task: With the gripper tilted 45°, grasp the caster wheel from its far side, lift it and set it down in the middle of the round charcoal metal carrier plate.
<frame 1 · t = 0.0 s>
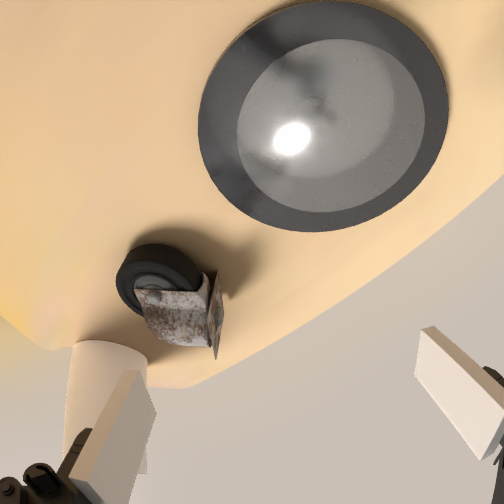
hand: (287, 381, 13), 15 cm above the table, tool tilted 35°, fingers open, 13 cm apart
canister: (109, 355, 46), on the table
carrier plate: (334, 128, 20), on the table
caster wheel: (172, 275, 31), on the table
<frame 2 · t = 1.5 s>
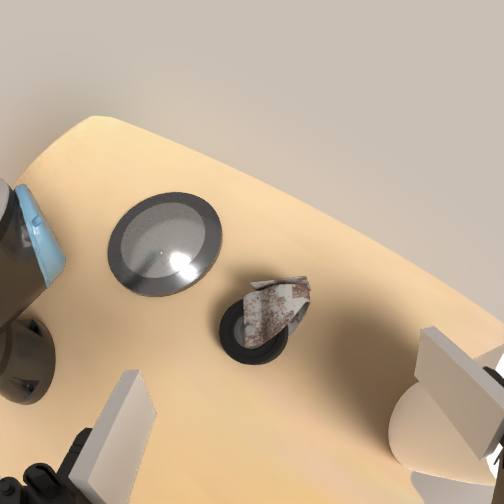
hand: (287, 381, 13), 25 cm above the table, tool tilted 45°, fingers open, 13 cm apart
canister: (432, 424, 30), on the table
carrier plate: (163, 241, 47), on the table
caster wheel: (267, 330, 39), on the table
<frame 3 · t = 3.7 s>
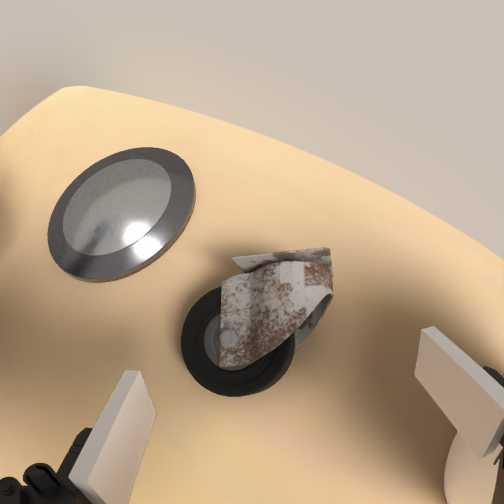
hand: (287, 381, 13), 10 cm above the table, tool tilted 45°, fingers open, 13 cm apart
canister: (498, 455, 15), on the table
carrier plate: (117, 208, 32), on the table
caster wheel: (261, 339, 24), on the table
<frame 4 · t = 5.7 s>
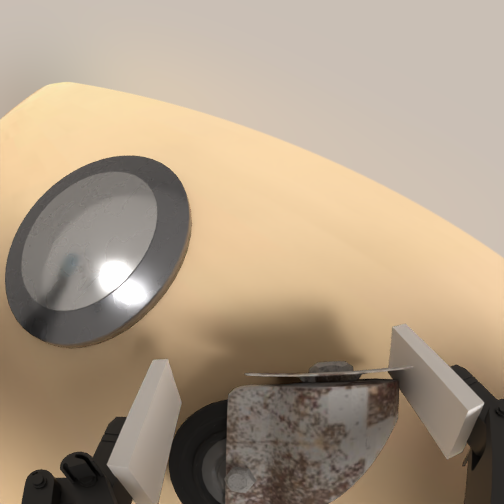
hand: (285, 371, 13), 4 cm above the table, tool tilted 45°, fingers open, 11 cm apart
carrier plate: (87, 239, 23), on the table
caster wheel: (282, 453, 15), on the table, touching gripper
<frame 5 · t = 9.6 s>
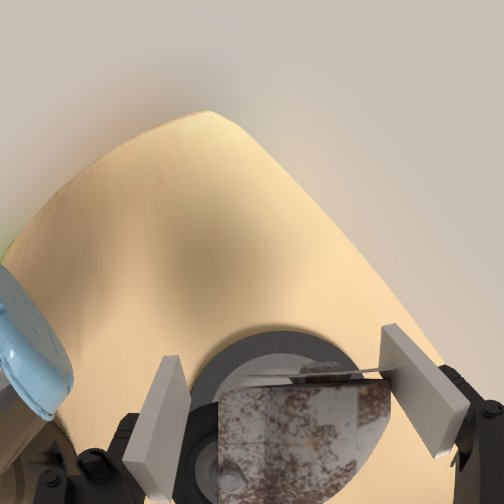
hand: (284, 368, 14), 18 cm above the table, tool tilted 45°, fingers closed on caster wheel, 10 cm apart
carrier plate: (280, 419, 27), on the table
caster wheel: (276, 454, 15), point 14 cm above the table, touching gripper
when the fingers open (7 cm above the table, at t = 13.3 s): caster wheel drops 1 cm, resting on carrier plate.
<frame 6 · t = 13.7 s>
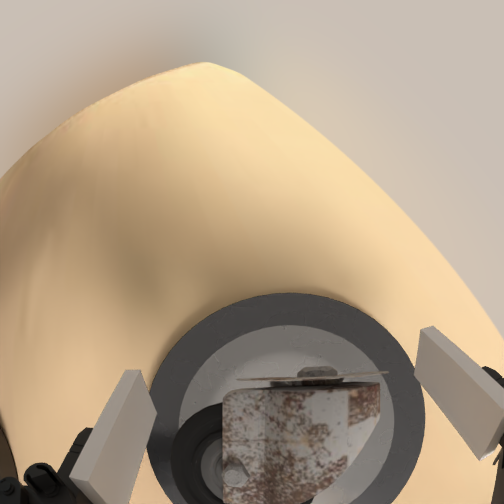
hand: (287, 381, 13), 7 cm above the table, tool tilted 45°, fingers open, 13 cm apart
carrier plate: (287, 427, 18), on the table
caster wheel: (275, 450, 16), point 1 cm above the table, touching carrier plate
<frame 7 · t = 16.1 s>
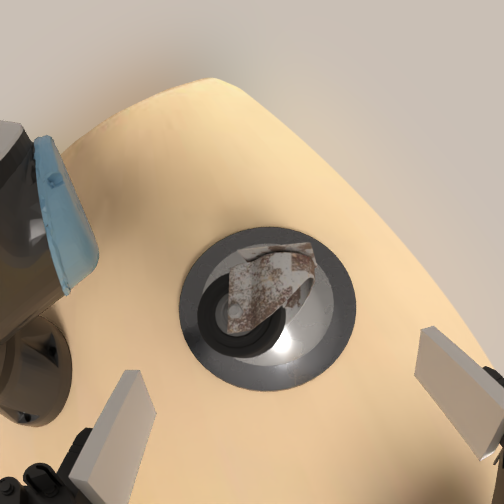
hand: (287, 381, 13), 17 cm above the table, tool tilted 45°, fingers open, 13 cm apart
carrier plate: (267, 304, 33), on the table
caster wheel: (259, 315, 31), point 1 cm above the table, touching carrier plate
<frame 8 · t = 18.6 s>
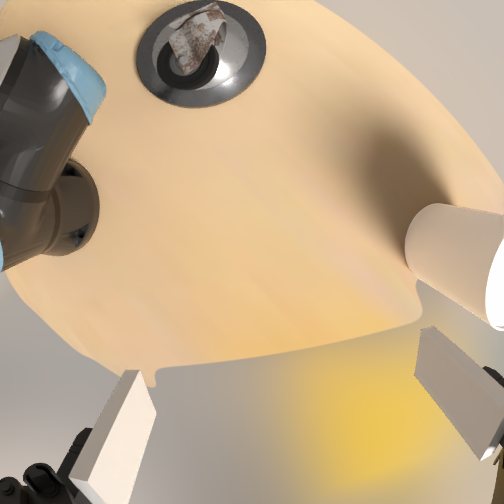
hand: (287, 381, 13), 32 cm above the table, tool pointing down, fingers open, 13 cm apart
canister: (436, 243, 44), on the table
carrier plate: (200, 50, 37), on the table
caster wheel: (199, 59, 36), point 1 cm above the table, touching carrier plate
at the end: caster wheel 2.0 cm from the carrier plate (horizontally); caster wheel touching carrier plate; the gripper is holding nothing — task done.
